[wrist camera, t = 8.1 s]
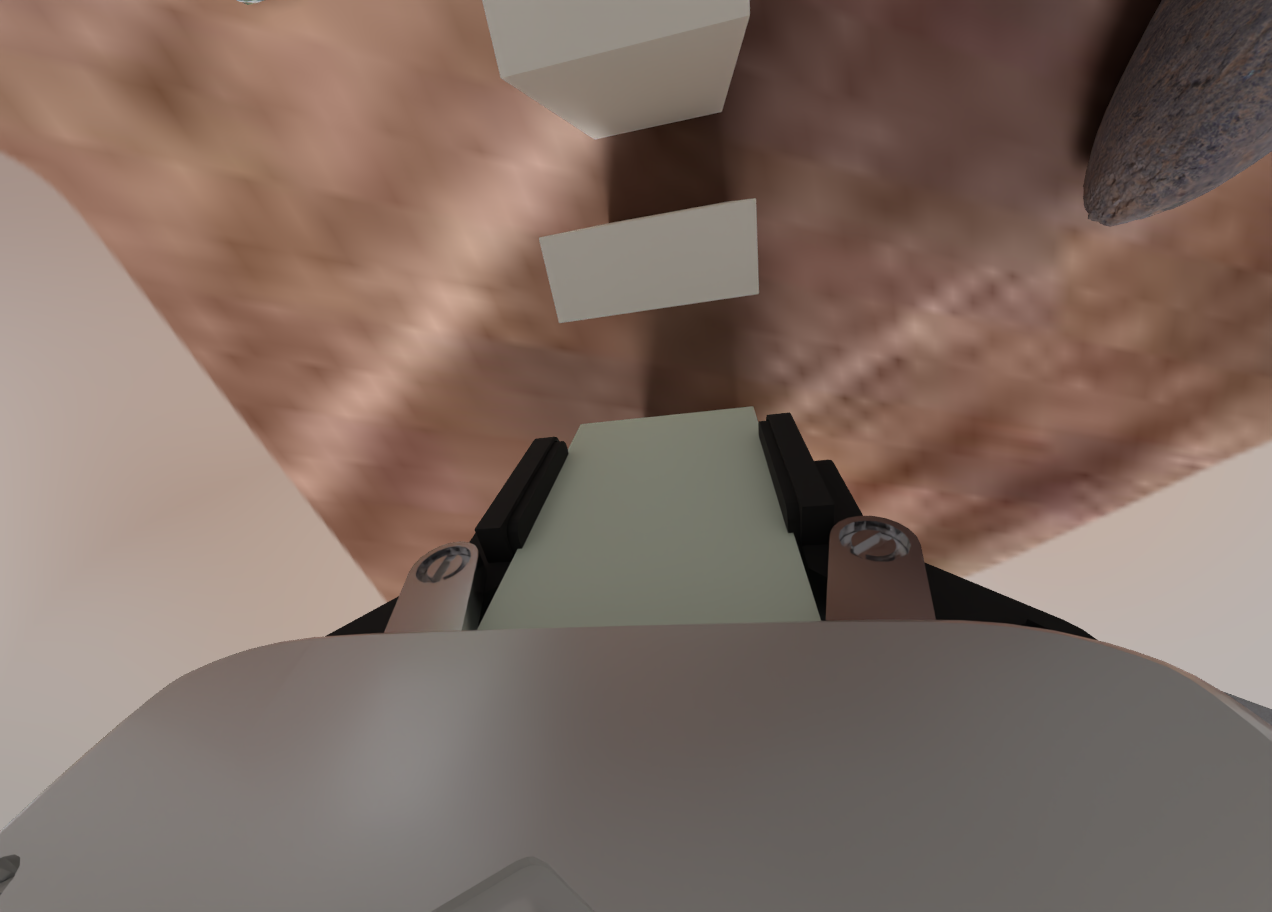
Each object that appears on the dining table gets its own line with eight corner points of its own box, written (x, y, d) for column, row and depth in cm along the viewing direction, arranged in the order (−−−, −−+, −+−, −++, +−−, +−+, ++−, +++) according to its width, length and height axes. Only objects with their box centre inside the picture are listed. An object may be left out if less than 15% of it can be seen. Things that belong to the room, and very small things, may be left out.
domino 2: (726, 201, 18) (755, 198, 10) (730, 254, 19) (758, 293, 11) (608, 223, 19) (538, 237, 11) (617, 272, 20) (559, 323, 12)
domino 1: (717, 43, 16) (744, -146, 7) (722, 111, 17) (749, 15, 8) (583, 76, 17) (467, -59, 8) (594, 139, 18) (500, 77, 9)
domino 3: (753, 406, 13) (896, 857, 4) (755, 468, 13) (875, 944, 5) (580, 424, 13) (376, 828, 5) (594, 481, 14) (445, 907, 6)
